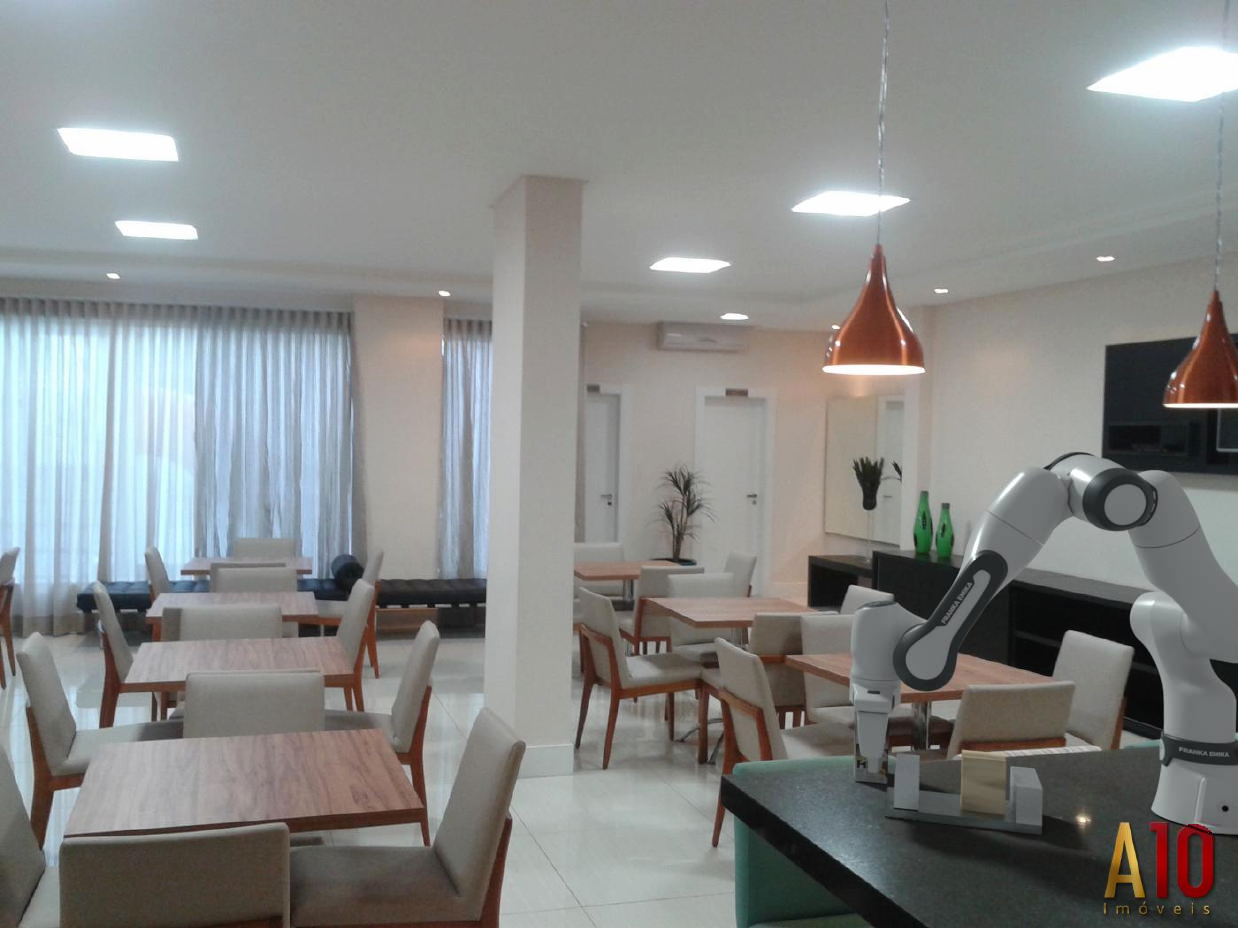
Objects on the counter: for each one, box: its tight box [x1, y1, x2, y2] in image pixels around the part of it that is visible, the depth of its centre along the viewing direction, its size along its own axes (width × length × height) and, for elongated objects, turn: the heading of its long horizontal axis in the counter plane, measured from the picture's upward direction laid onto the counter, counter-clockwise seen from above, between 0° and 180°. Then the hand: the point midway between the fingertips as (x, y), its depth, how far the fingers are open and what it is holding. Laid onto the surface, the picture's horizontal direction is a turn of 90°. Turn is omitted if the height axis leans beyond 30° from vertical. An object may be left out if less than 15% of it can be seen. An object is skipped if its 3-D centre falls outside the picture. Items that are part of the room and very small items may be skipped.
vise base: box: [884, 765, 1044, 836], centre depth 184 cm, size 25×13×8 cm, turn 74°
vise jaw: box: [893, 752, 921, 810], centre depth 186 cm, size 4×13×6 cm, turn 164°
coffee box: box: [853, 710, 891, 785], centre depth 205 cm, size 9×6×16 cm
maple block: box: [960, 749, 1007, 814], centre depth 183 cm, size 5×7×9 cm
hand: (873, 770), depth 188 cm, fingers closed
